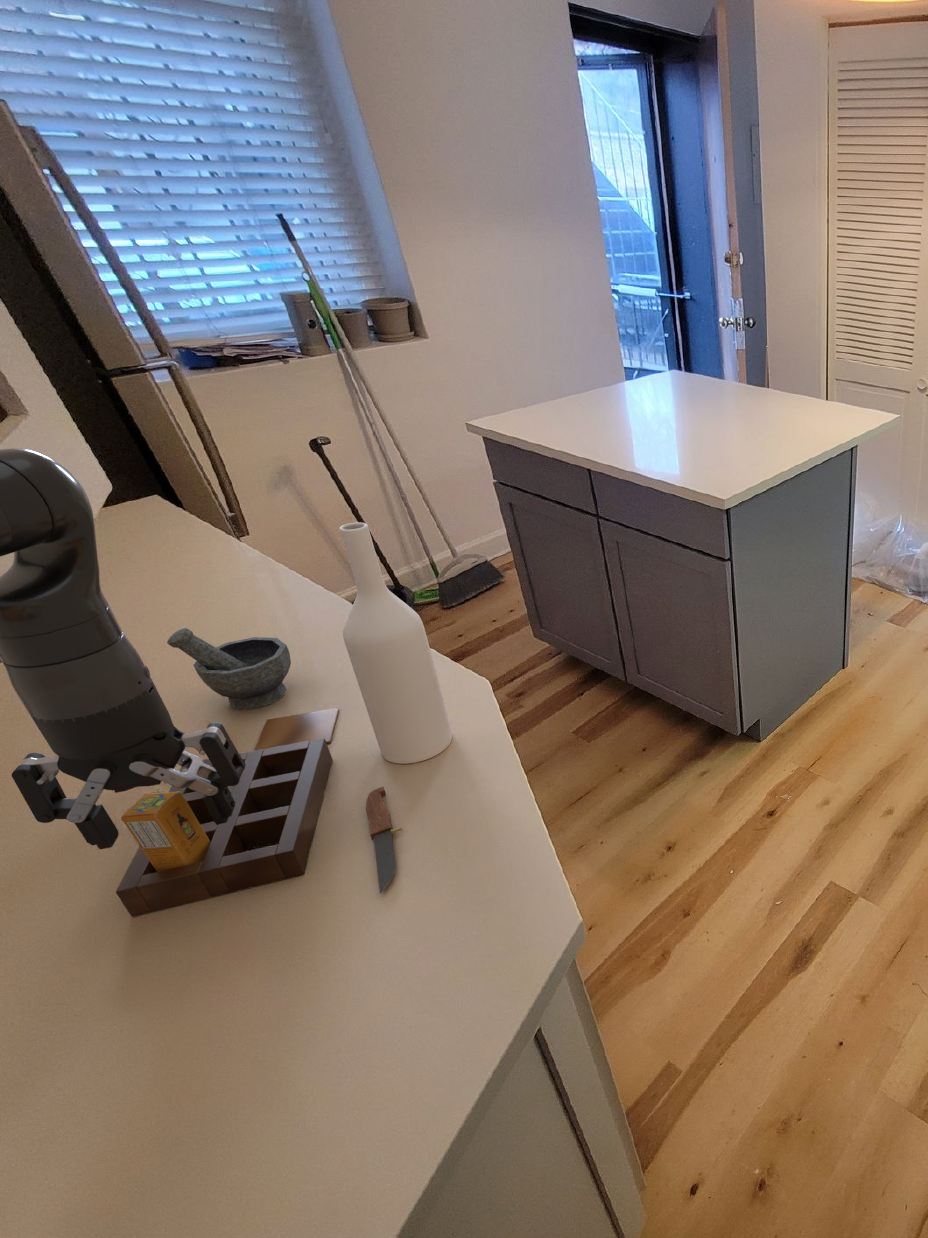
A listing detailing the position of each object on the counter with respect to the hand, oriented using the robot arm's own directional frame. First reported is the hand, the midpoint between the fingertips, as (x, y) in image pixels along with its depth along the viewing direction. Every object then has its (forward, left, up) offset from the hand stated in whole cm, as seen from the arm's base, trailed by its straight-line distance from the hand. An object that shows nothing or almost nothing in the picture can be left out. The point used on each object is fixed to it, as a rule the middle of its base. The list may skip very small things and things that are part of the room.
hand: (169, 830), depth 66 cm
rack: (+3, +6, -6) cm, 9 cm away
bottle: (+19, +16, -7) cm, 25 cm away
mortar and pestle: (-2, +35, -7) cm, 35 cm away
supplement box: (0, 0, -7) cm, 7 cm away
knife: (+17, -1, -6) cm, 18 cm away
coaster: (+5, +24, -6) cm, 25 cm away
